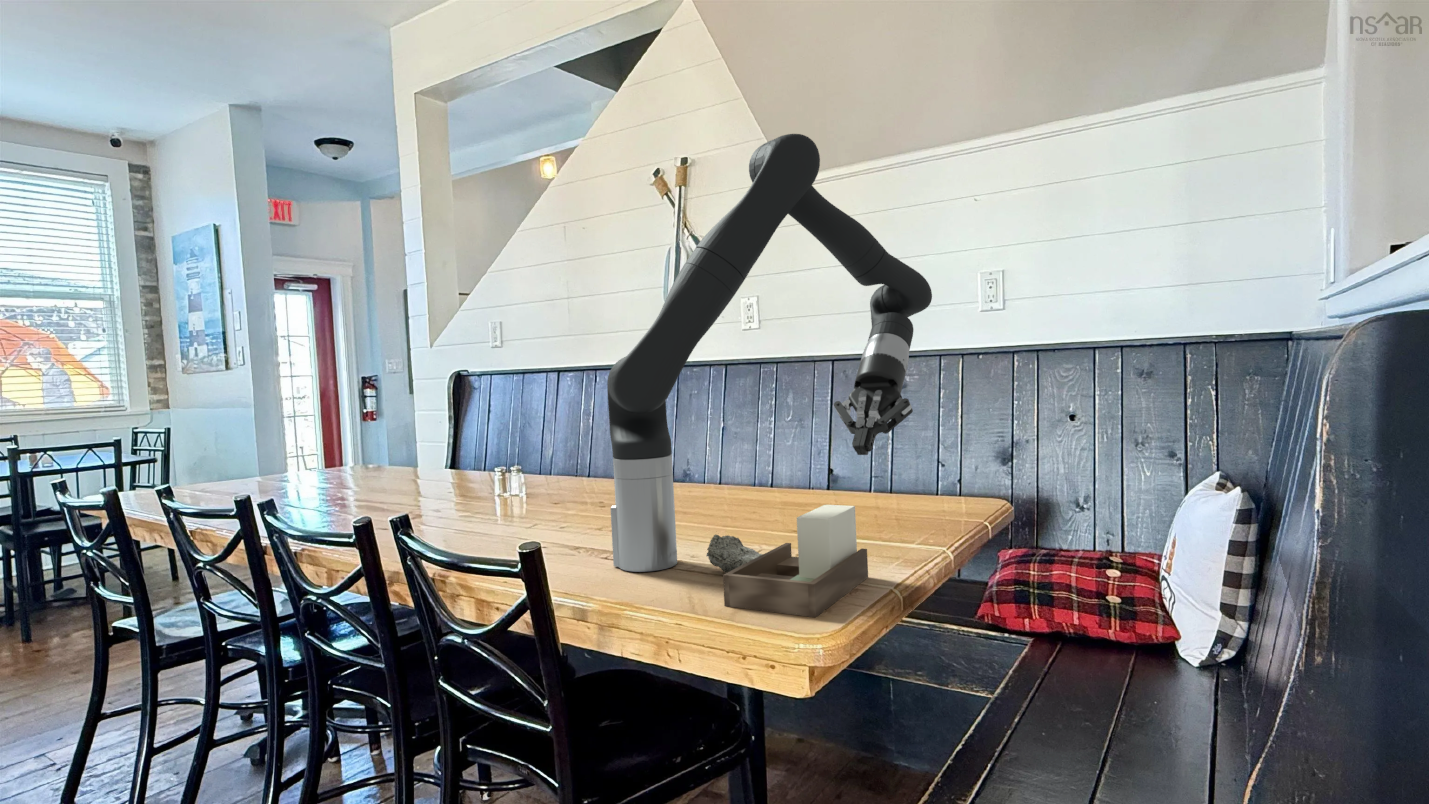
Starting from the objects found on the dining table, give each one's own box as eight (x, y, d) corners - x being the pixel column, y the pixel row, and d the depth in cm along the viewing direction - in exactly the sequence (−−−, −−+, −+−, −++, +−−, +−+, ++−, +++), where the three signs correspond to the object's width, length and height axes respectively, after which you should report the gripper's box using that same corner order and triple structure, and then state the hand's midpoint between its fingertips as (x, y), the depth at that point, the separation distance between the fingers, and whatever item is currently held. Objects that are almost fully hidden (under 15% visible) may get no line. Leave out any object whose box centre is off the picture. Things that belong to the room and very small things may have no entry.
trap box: (724, 605, 98) (722, 574, 98) (787, 569, 115) (786, 542, 114) (815, 617, 92) (814, 584, 92) (868, 577, 108) (867, 548, 108)
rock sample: (763, 555, 108) (731, 510, 113) (723, 590, 109) (693, 543, 114) (792, 570, 116) (761, 527, 122) (754, 602, 117) (725, 558, 122)
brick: (799, 577, 103) (796, 517, 102) (827, 559, 111) (825, 504, 111) (831, 580, 100) (828, 519, 100) (857, 562, 109) (855, 505, 109)
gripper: (837, 354, 127) (812, 437, 118) (916, 348, 121) (896, 436, 111) (851, 384, 132) (828, 466, 122) (928, 380, 125) (910, 466, 116)
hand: (861, 451), depth 117 cm, fingers closed
